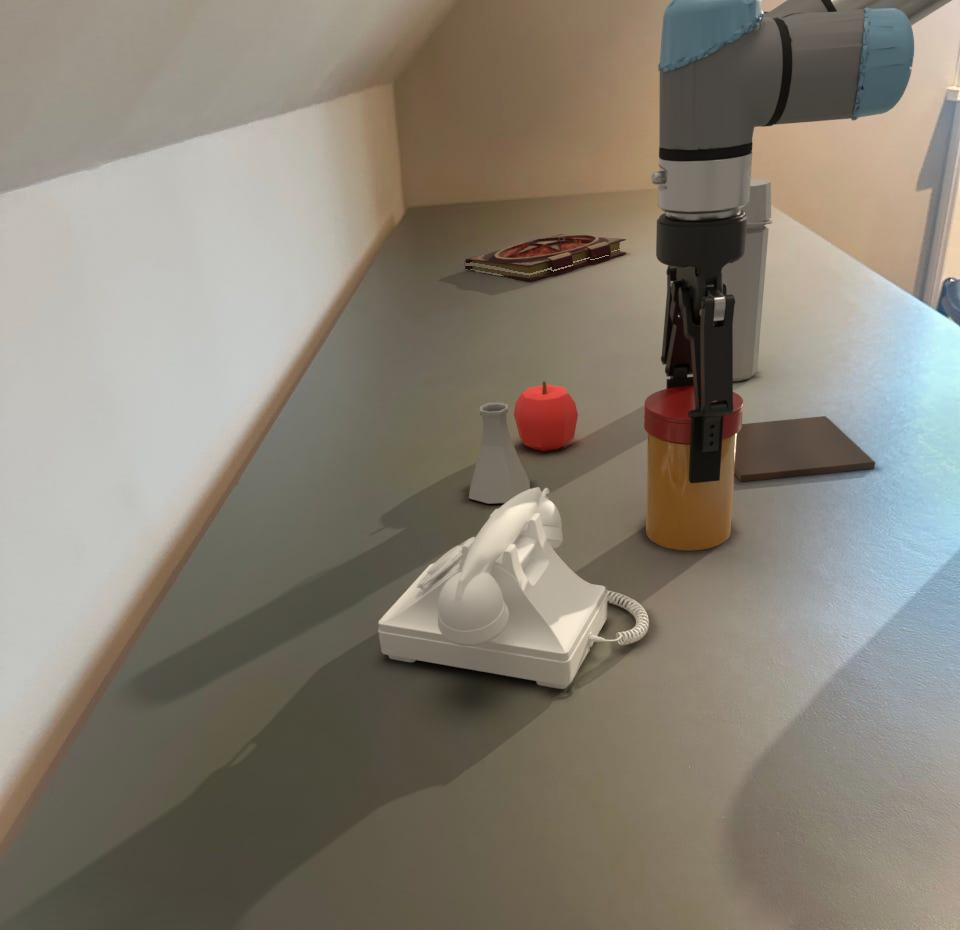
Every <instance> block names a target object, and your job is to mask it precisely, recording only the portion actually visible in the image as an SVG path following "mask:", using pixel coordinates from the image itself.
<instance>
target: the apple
mask: <svg viewBox="0 0 960 930" xmlns="http://www.w3.org/2000/svg"><path fill="white" fill-rule="evenodd" d="M576 404H577V403H576V401H575V400H574V399H573V398H572V396H571V395H570V393H569V392H568V390H567V389H566V388H565V386H560V385H552V384H547V381H545V380H543V381H542V385H536V386H531V387H529V388H527V389H525V390H523V391H522V392H521V393H520V395H519V397H518V398H517V399H516V401H515V404H514V410H513V417H514V420H515V421H514V422H515V424H516V429H517V432H518V436H519V439H520V441H521V442H522V444H523V445H525V446H527V447H528V448H530V449H532V450H535V451H540V452H543V453H544V452H549V451H555V450H559V449H560V448H563V447H564V446H566V445H567V444H568V443H569V442H571V441H572V440H573V439H574V438H575V435H576V428H577V424H578V423H577V422H578V416H579V413H578V409H577V405H576Z"/></svg>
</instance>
